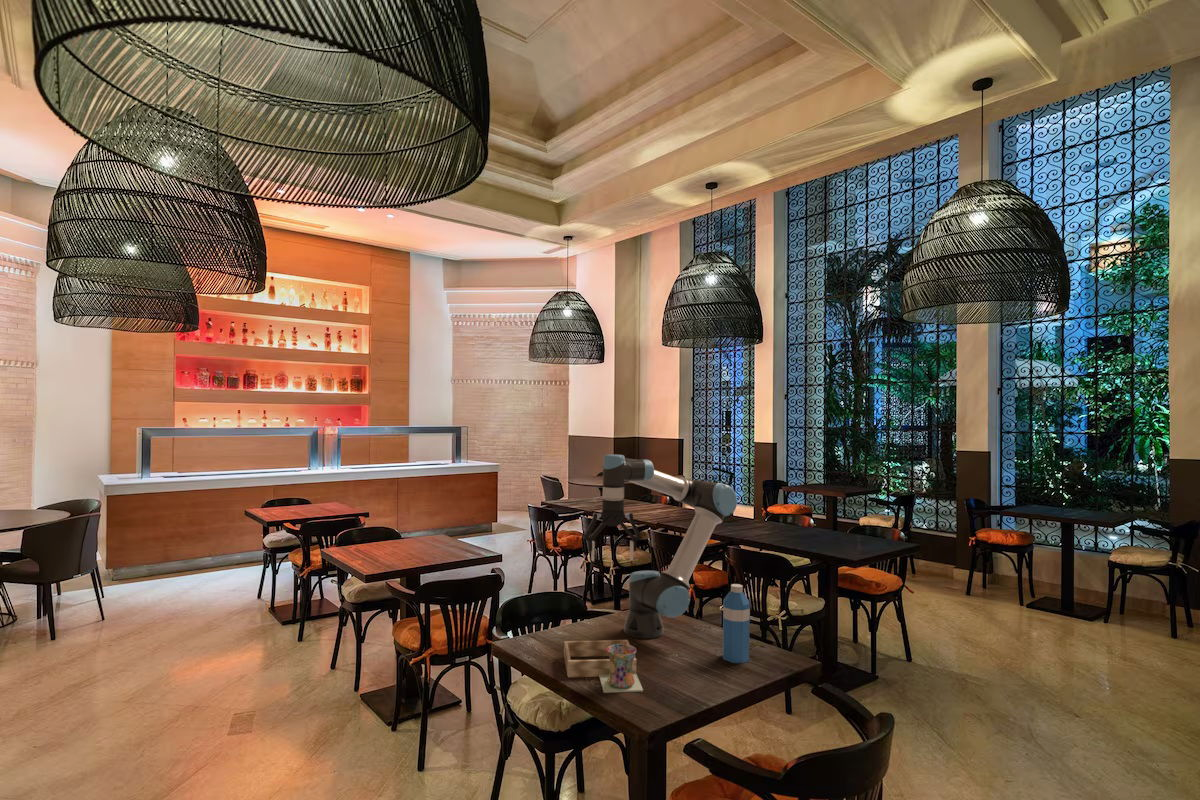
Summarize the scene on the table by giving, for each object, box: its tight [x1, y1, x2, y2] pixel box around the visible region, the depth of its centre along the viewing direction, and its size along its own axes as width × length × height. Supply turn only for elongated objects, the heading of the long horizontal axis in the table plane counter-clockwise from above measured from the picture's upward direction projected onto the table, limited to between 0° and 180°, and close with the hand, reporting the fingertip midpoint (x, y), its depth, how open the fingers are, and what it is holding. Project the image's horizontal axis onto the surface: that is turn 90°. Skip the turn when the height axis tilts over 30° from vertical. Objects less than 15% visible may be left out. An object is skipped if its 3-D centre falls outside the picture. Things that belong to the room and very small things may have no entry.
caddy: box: [563, 639, 637, 678], centre depth 215 cm, size 22×18×5 cm
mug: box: [606, 644, 638, 688], centre depth 200 cm, size 12×9×11 cm
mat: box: [599, 673, 644, 694], centre depth 200 cm, size 12×12×1 cm
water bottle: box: [722, 583, 751, 664], centre depth 224 cm, size 9×9×25 cm
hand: (612, 560), depth 225 cm, fingers open, 13 cm apart
